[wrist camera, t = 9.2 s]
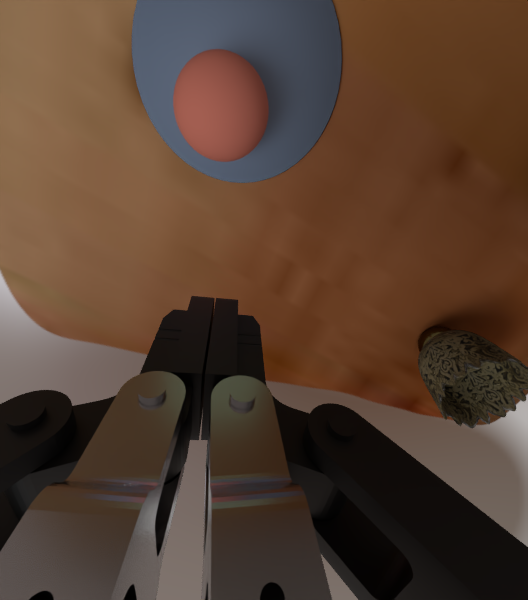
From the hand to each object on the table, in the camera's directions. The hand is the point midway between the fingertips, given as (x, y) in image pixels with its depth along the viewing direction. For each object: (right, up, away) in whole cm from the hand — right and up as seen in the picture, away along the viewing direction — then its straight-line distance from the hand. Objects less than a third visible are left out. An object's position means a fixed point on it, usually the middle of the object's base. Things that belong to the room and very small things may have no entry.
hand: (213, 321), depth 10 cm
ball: (-1, +12, +7) cm, 14 cm away
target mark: (0, +15, +9) cm, 17 cm away
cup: (+19, -3, +21) cm, 29 cm away
